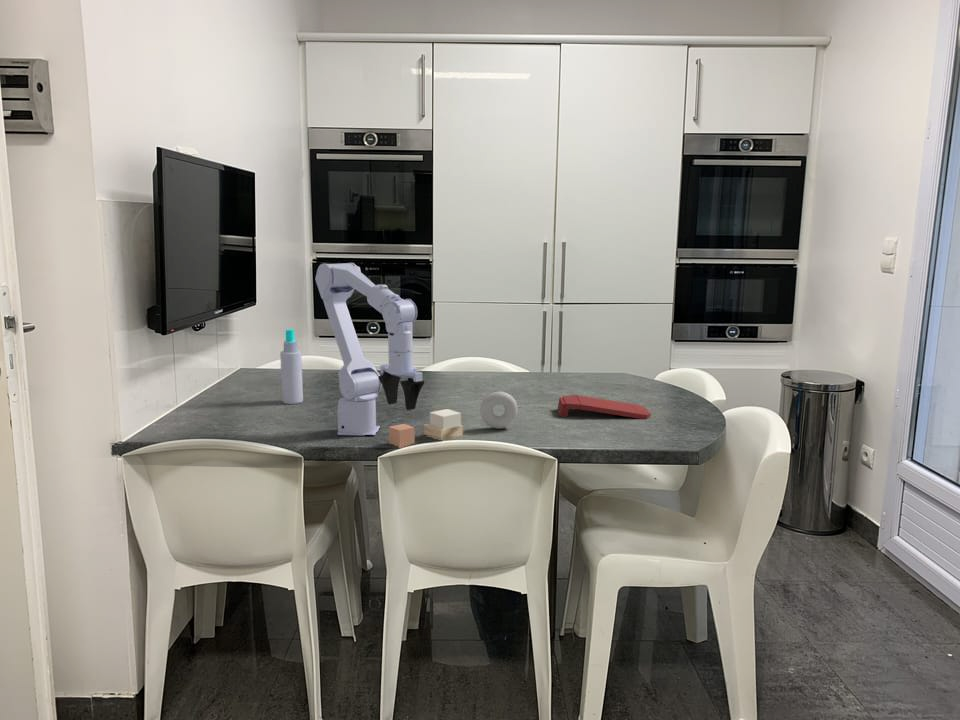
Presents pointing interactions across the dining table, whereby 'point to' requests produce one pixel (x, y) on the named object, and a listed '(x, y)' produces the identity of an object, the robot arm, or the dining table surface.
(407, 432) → the terracotta cube
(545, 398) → the dining table surface
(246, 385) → the dining table surface
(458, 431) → the birch base block
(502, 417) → the donut
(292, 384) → the spray bottle
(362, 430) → the robot arm
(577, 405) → the red elongated bent piece
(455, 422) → the cream top block
